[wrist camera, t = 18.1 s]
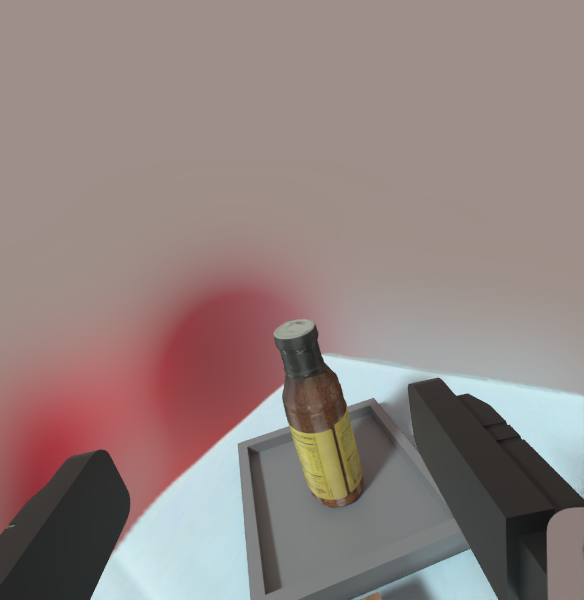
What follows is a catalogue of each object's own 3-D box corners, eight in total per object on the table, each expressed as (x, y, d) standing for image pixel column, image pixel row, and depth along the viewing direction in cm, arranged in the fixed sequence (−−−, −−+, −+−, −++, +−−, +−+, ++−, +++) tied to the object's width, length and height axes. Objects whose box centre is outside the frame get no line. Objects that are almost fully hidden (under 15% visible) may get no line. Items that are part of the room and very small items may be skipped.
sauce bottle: (345, 455, 40) (314, 306, 34) (376, 493, 34) (346, 322, 28) (298, 480, 38) (256, 327, 32) (322, 525, 32) (277, 349, 26)
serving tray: (376, 412, 48) (373, 397, 47) (479, 544, 29) (478, 524, 28) (242, 457, 45) (237, 443, 44) (260, 638, 26) (252, 618, 25)
